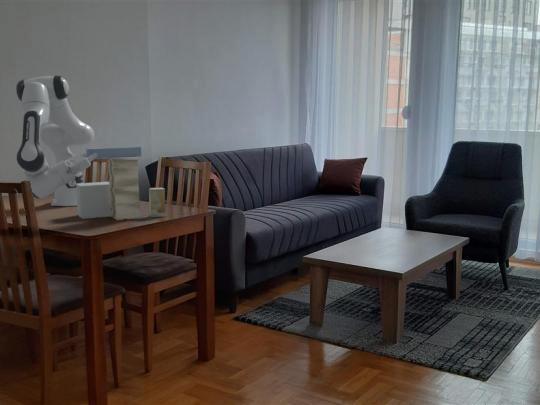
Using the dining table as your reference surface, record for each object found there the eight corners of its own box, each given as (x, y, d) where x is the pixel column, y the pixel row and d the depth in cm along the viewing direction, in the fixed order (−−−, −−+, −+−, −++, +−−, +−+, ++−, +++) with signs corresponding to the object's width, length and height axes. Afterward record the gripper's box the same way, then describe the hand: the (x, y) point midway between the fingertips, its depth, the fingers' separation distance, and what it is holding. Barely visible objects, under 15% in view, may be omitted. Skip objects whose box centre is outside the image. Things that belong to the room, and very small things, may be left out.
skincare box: (151, 217, 266) (150, 189, 264) (149, 216, 270) (148, 188, 268) (166, 216, 268) (165, 188, 266) (163, 214, 272) (162, 187, 270)
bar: (86, 158, 257) (86, 148, 257) (138, 156, 268) (138, 146, 267) (88, 159, 254) (88, 149, 253) (141, 156, 264) (141, 147, 263)
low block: (77, 215, 273) (75, 183, 271) (109, 212, 279) (108, 181, 277) (82, 218, 264) (80, 186, 262) (115, 215, 270) (113, 184, 268)
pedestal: (109, 216, 269) (106, 156, 265) (134, 214, 274) (132, 155, 270) (115, 220, 259) (112, 158, 255) (141, 218, 264) (139, 157, 260)
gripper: (65, 167, 242) (95, 148, 247) (56, 163, 260) (85, 145, 264) (74, 180, 245) (104, 161, 249) (65, 175, 262) (93, 157, 267)
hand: (94, 153), depth 257 cm, fingers open, 8 cm apart
